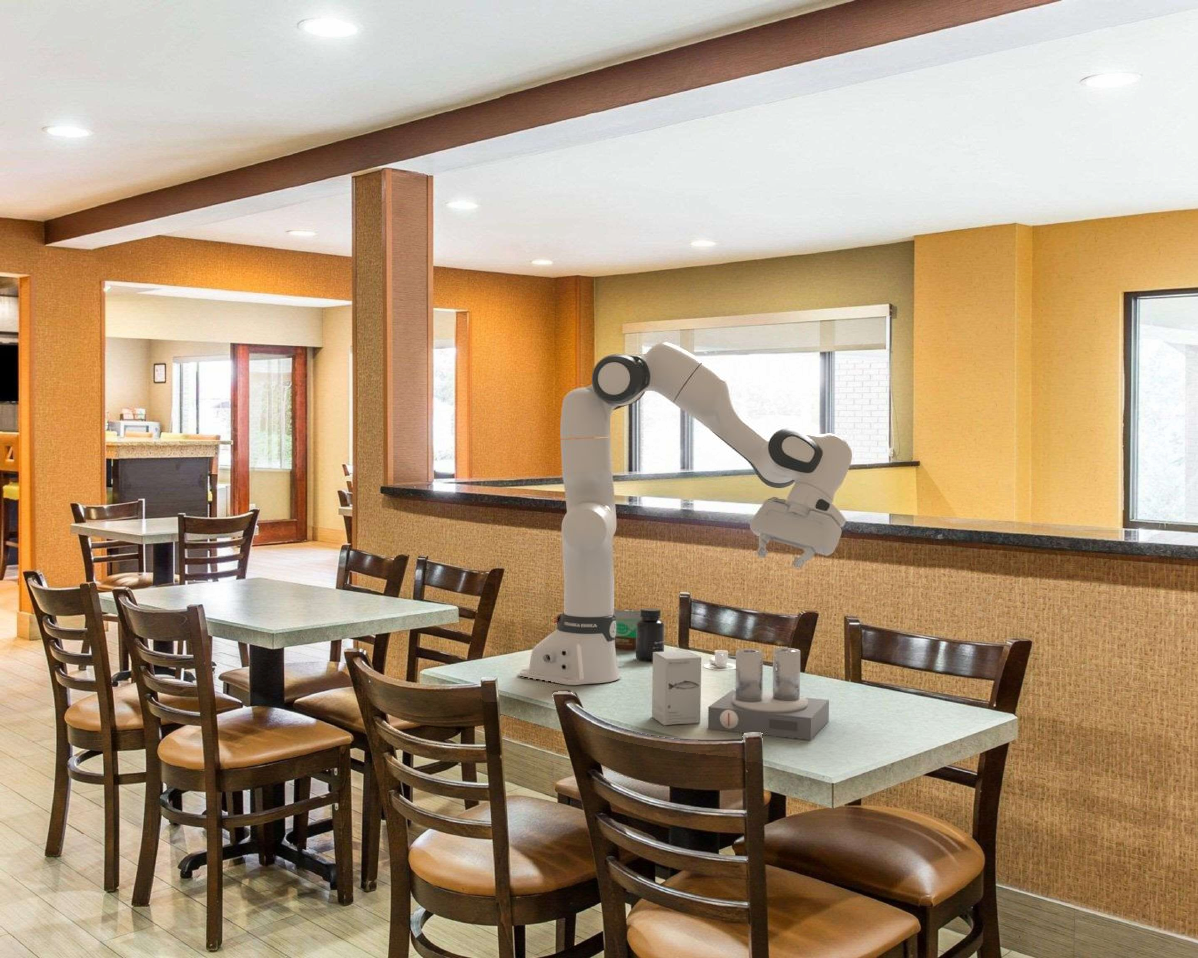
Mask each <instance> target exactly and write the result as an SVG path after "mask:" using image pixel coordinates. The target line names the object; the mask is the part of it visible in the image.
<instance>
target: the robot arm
mask: <svg viewBox="0 0 1198 958" xmlns="http://www.w3.org/2000/svg"><path fill="white" fill-rule="evenodd" d="M648 391H650V392H651V391H652V392H655V393H658V394H660V395H661V396H663V397H664V398H666V399H667V400H669V401H670V402H671V403H672V404H674V405H675V406H677V407H678V408H679V409H681V410H682V411H683V412H685V413H686V414H688V415H689V416H691V417H692V418H693V419H695V420H697V421H698V422H699V423H701V424H702V425H703V426H704V427H706V428H707V429H708V430H709V431H711V432H712V433H713V434H714V435H715V436H717V437H718V438H719V439H720V440H721V441H722V442H724V444H727V446H729V447H730V448H731V449H732V450H733V451H735V452H736V453H737V454H738V455H740V457H742V458H744V459H745V461H747V462H748V464H750V466H751V468H752V469H753V470H754V471H753V472H755V474H756V477H758V479H759V480H760V481H761V482H762V483H764V484H765V485H766V486H768V487H769V488H770V487H771V488H773V489H784V488H787V487H789V486H792V485H793V486H792V488H791V489H790V491H789V494H788V495H787V498H786V499H784V498H779V497H776V496H772V497H771V498H767V499H765V500H764V502H763V504H761V506H760V507H759V508H758V510H757V512H756V513H755V514H754V516H753V518H752V519H751V520H750V522H749V529H750V530H751V532H752V533H753V534H754V535H755V536H757V537H758V548H757V550H756V552H755V554H756V555H757V556H758V557H760V558H762V559H766V557H767V555H768V554H769V551H768V550H767V548H766V547H767V545H768V544H769V542H770V541H774V542H777V543H780V544H785V545H787V546H790V547H795V548H799V549H802V550H803V553H802V554H801V555H800V556H798V557H797V556H794V559H793V561H792V566H793V567H794V568H797V569H799V570H802V569H803V567H804V565H805V563H807V562H808V561H809V560H811V559H812V558H813V557H814V556H815V554H819V555H823V556H826V557H828V556H830V555H831V554H833V553H834V552H835V550H836V548H837V546H838V544H839V541H840V539H841V537H842V533H843V532H842V531H843V530H842V528H843V527H844V526H845V524H846V523H847V519H846V518H845V516H844V514H843V513H842V512H841V511H840V510H839V508H838V507H837V506H836V505H834V504H833V502H834V497H835V494H836V493H837V491H838V490H839V488H841V486H842V485H843V483H844V481H845V478H846V476H847V474H848V472H849V469H850V467H851V464H852V460H853V452H852V449H851V447H850V446H849V444H848V443H847V442H846V441H845V440H844V439H843V438H842V437H840V436H838V435H836V434H834V433H821V434H815V433H809V432H803V431H800V430H798V429H795V428H790V427H789V428H782V429H779V430H777V431H776V432H775V433H773V434H772V436H771V437H770V438H769V439H767V438H765V437H764V436H763V435H762V434H760V433H759V432H758V431H757V430H755V428H753V427H752V426H750V425H749V424H748V423H747V422H745V420H743V419H742V418H741V417H740V416H739V415H738V413H737V412H736V411H735V409H734V407H733V404H732V401H731V397H730V392H729V387H728V384H727V381H726V380H725V379H724V378H723V377H722V375H720V373H718V372H717V371H716V370H715V369H714V367H711V366H710V365H709V364H707V363H706V362H704V361H703V360H701V358H699V357H697V356H696V355H695V354H692V353H691V352H689V351H687V350H685V349H684V348H682V347H680V346H678V345H675V344H673V343H671V342H667V341H662V342H659V343H656V344H655V345H653V346H652V347H651V348H650V349H648V351H647V352H646V353H645V355H643V356H640V355H631V354H625V353H624V354H622V353H614V354H609V355H607V356H603V357H602V358H601V359H600V360H599V361H598V362H597V363H596V364H595V366H594V368H593V369H592V373H591V383H590V385H589V386H586V387H577V388H575V389H572V390H571V391H569V392H567V393H566V395H565V396H564V398H563V400H562V406H561V414H560V427H559V429H560V431H559V432H560V453H561V455H560V457H561V476H562V481H563V487H564V488H563V489H564V495H565V503H566V504H565V505H566V513H565V515H564V516H563V518H562V521H561V549H562V552H561V553H562V564H563V565H562V566H563V577H564V578H563V579H564V580H563V584H564V585H563V586H564V587H563V596H564V597H563V612H562V613H560V614H559V615H557V616H555V617H553V624H556V629H555V630H554V631H553V632H551V633H550V634H548V635H547V636H546V637H545V638H543V639H542V640H541V641H540V642H538V643H537V644H535V646H534V647H533V649H532V651H531V655H530V660H529V665H527V666H525V667H522V669H520V670H519V675H520V676H525V677H528V678H527V679H530V678H533V679H532V680H536V679H540V680H539V681H542V680H545V681H544V682H548V681H551V683H554V682H555V683H557V684H562V685H568V686H579V685H588V684H601V683H609V682H613V681H616V680H617V681H618V680H619V679H621V676H622V675H621V673H620V669H619V668H620V667H619V664H618V658H617V649H615V638H616V614H615V613H614V609H615V572H614V551H613V550H614V548H613V547H614V545H613V544H614V539H613V538H614V535H615V533H616V531H617V523H618V522H617V512H616V510H617V509H616V499H615V497H616V496H615V488H614V477H613V463H612V461H613V460H612V438H611V417H612V412H613V411H615V410H618V409H621V408H623V407H626V406H630V405H632V404H634V403H636V402H637V401H639V400H640V399H641V398H642V397H643V396H644V395H645V393H646V392H648ZM520 676H519V677H520Z"/></svg>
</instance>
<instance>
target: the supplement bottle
mask: <svg viewBox="0 0 1198 958" xmlns="http://www.w3.org/2000/svg"><path fill="white" fill-rule="evenodd" d="M640 611H641V615H640V617H641V620H639V621H638V622H637V624H636V650H635V659H636V660H637V661H642V662H653V652H665V623H664V621H662V620H661V619H660V618H661V617H662V616H661V609H659V608H652V607H650V608H649V607H646V608H641V609H640Z"/></svg>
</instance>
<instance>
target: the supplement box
mask: <svg viewBox="0 0 1198 958" xmlns="http://www.w3.org/2000/svg"><path fill="white" fill-rule="evenodd" d="M651 685H652V688H651V690H652V691H651V700H652V701H651V703H652V704H651V716H652V718H654V719H655V720H656V721H658V722H659V723H660V724H661V725H663V726H664V727H665V726H668V725H686V724H700V723H701V709H702V708H701V707H702V706H701V703H702V702H701V701H702V700H701V698H702V697H701V694H702V691H701V690H702V657H701V656H700V655H698V654H696V653H694V652H691V651H690V650H673V651H672V650H671V651H664V652H653V661H652V684H651Z"/></svg>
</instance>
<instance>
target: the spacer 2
mask: <svg viewBox="0 0 1198 958" xmlns="http://www.w3.org/2000/svg"><path fill="white" fill-rule="evenodd" d="M772 691H773V699H775V700H780V701H797V700H799V699H800V696H801V650H800V649H798V648H793V647H777V648H773V650H772Z"/></svg>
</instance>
